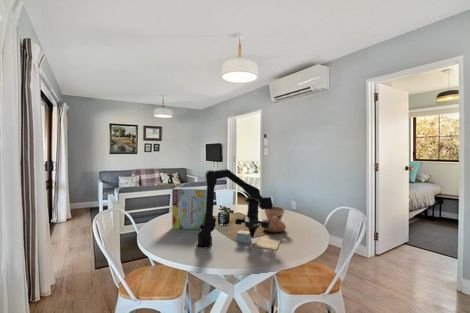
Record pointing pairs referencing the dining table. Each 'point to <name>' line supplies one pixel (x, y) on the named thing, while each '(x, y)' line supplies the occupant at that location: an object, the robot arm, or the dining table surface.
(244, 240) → the stub
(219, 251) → the dining table surface
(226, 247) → the dining table surface
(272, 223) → the ceramic jug
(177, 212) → the snack box
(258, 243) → the pad
